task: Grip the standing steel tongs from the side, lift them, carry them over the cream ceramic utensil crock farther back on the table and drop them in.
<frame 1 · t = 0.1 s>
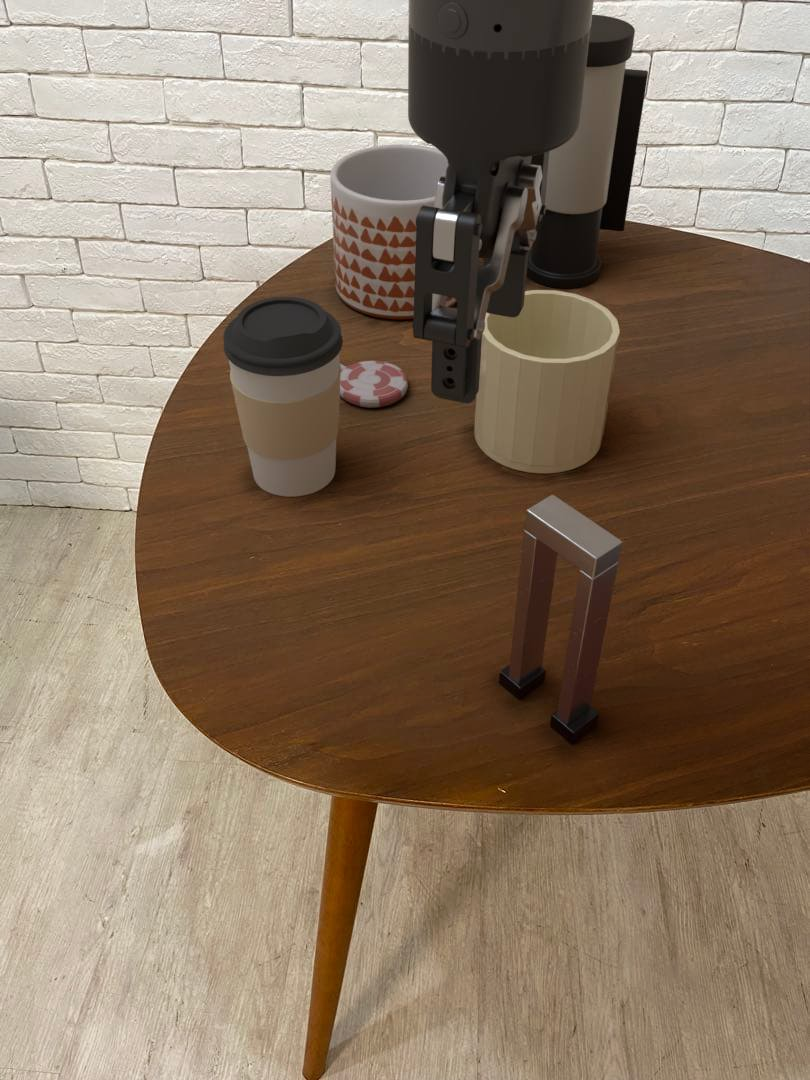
hand: (479, 352, 54), 26 cm above the table, tool pointing down, fingers open, 8 cm apart
crock: (537, 433, 92), on the table
planter: (400, 290, 111), on the table
coffee cup: (294, 472, 89), on the table
lollipop: (339, 373, 99), on the table
tongs: (547, 703, 70), on the table
light fixture: (562, 266, 115), on the table
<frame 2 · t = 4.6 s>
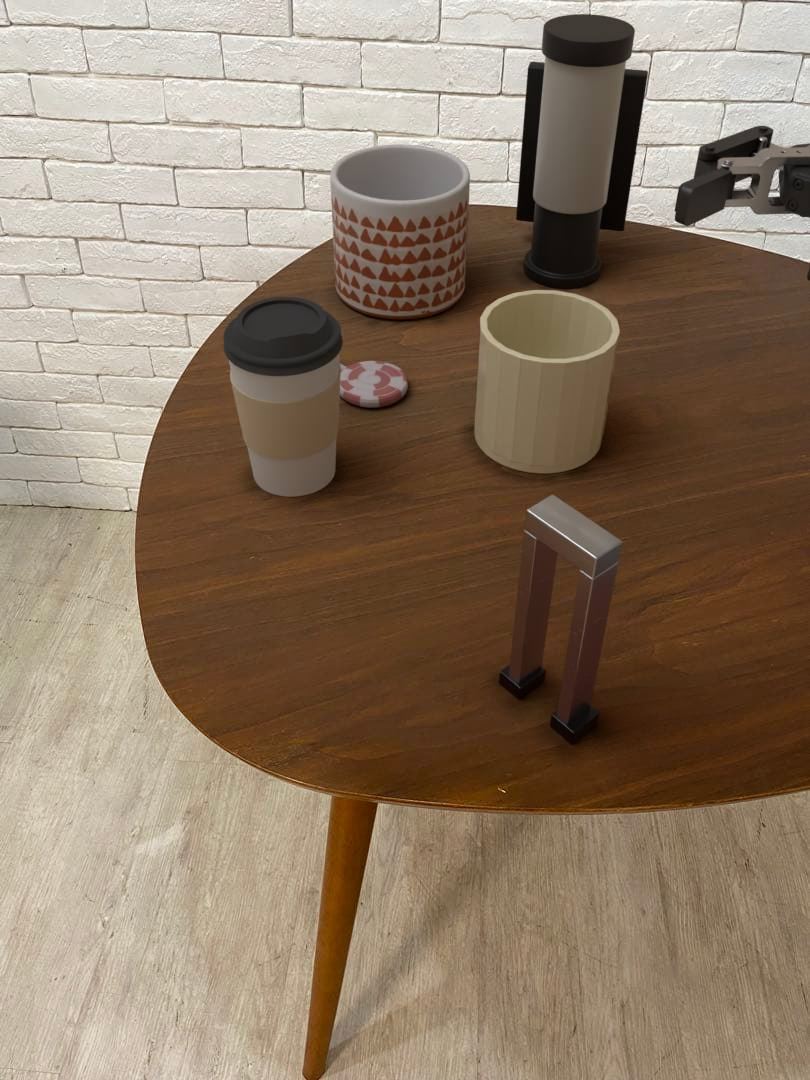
hand: (746, 235, 55), 30 cm above the table, tool horizontal, fingers open, 8 cm apart
nothing on the table moved.
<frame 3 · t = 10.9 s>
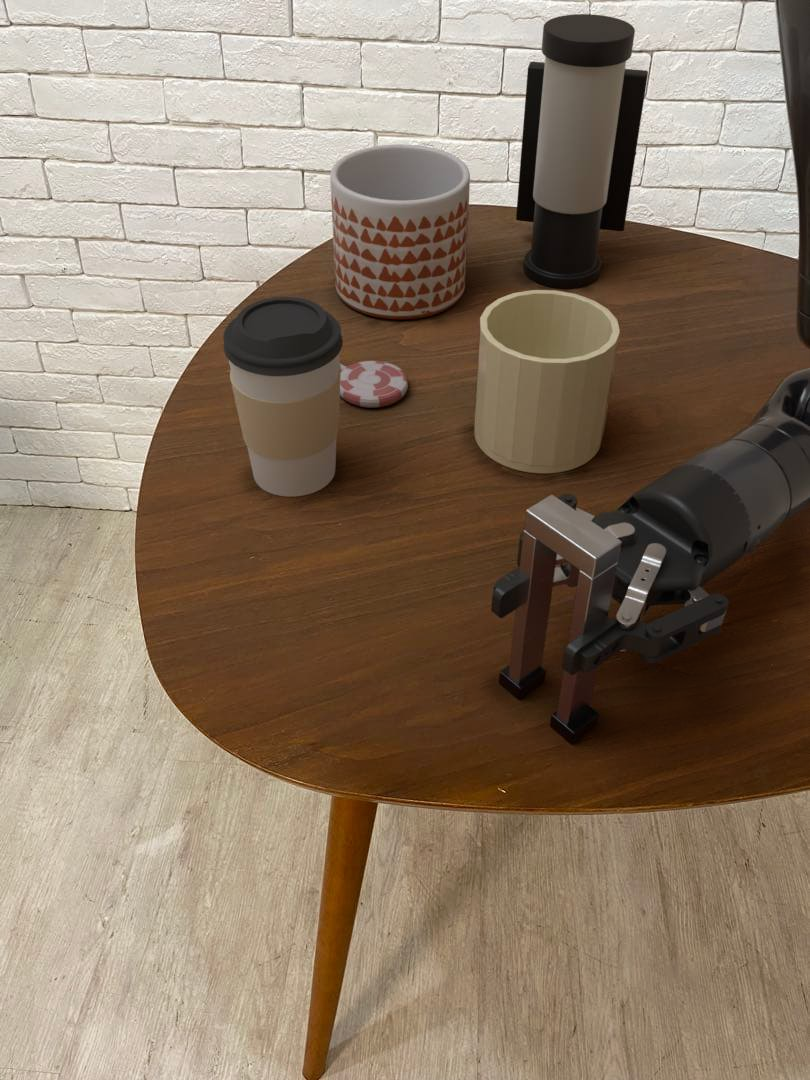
hand: (531, 632, 63), 9 cm above the table, tool horizontal, fingers closed on tongs, 5 cm apart
tongs: (547, 703, 70), on the table, touching gripper
everything else where it was.
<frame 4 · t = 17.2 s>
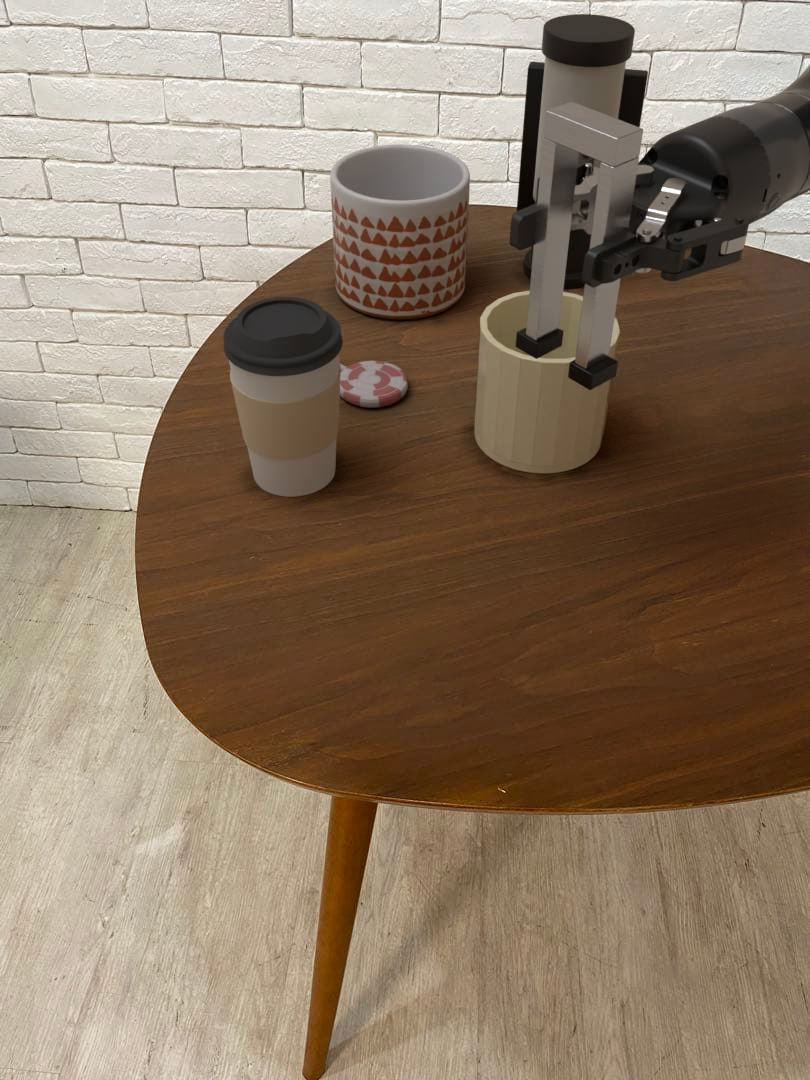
hand: (551, 251, 62), 26 cm above the table, tool horizontal, fingers closed on tongs, 5 cm apart
tongs: (564, 361, 70), point 17 cm above the table, touching gripper
everything else where it was.
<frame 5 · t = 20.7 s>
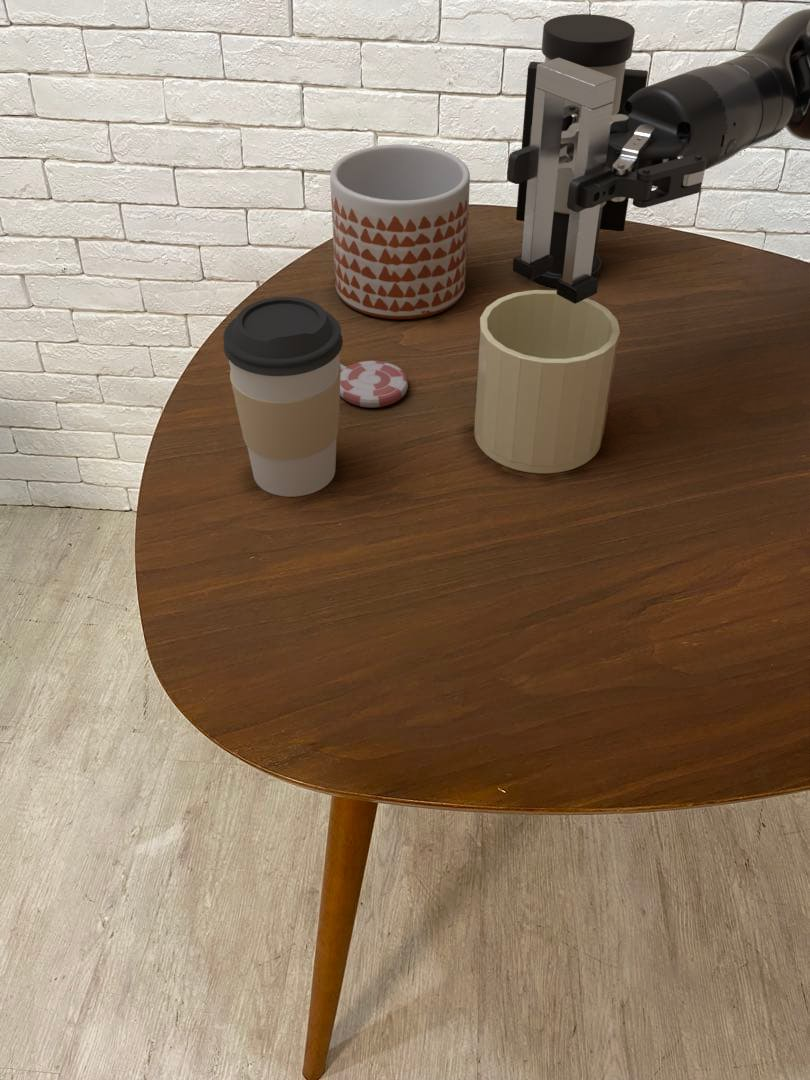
hand: (541, 183, 75), 24 cm above the table, tool horizontal, fingers closed on tongs, 5 cm apart
tongs: (554, 282, 82), point 15 cm above the table, touching gripper
everything else where it was.
when the fingers open (14 cm above the table, at t = 23.8 s): tongs drops 4 cm, resting on crock.
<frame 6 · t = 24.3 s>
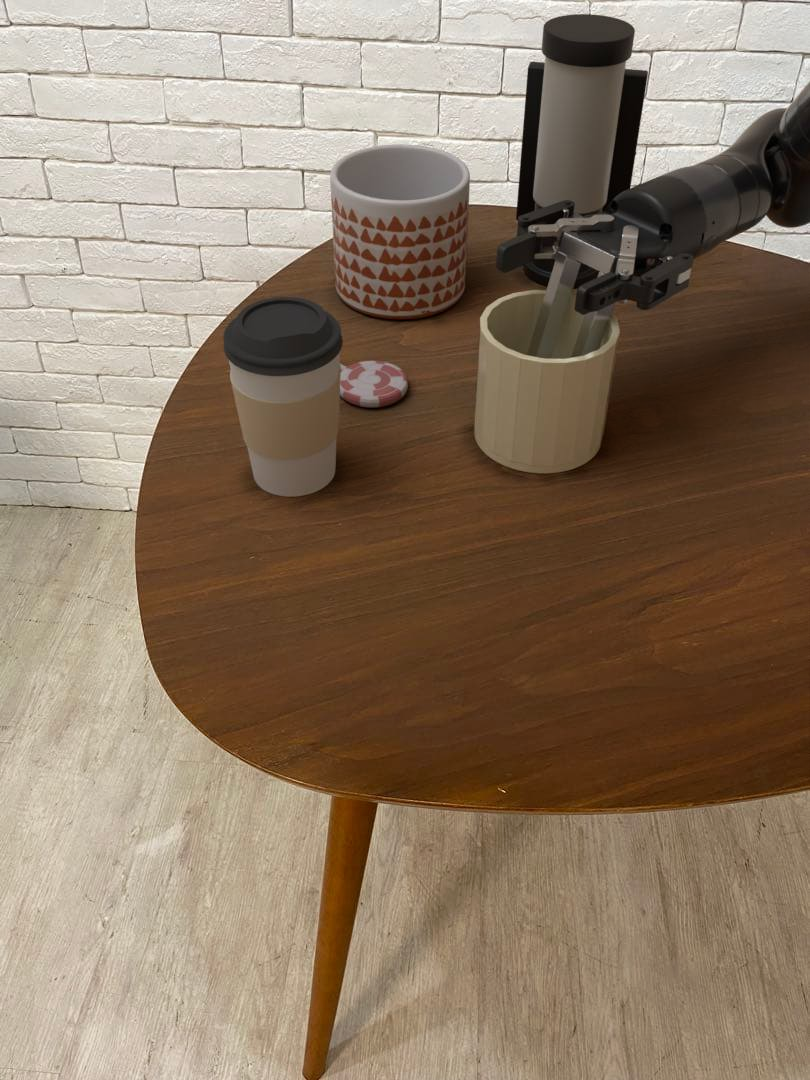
hand: (538, 280, 81), 16 cm above the table, tool horizontal, fingers open, 8 cm apart
tongs: (539, 422, 92), point 1 cm above the table, tilted 17°, touching crock
everything else where it was.
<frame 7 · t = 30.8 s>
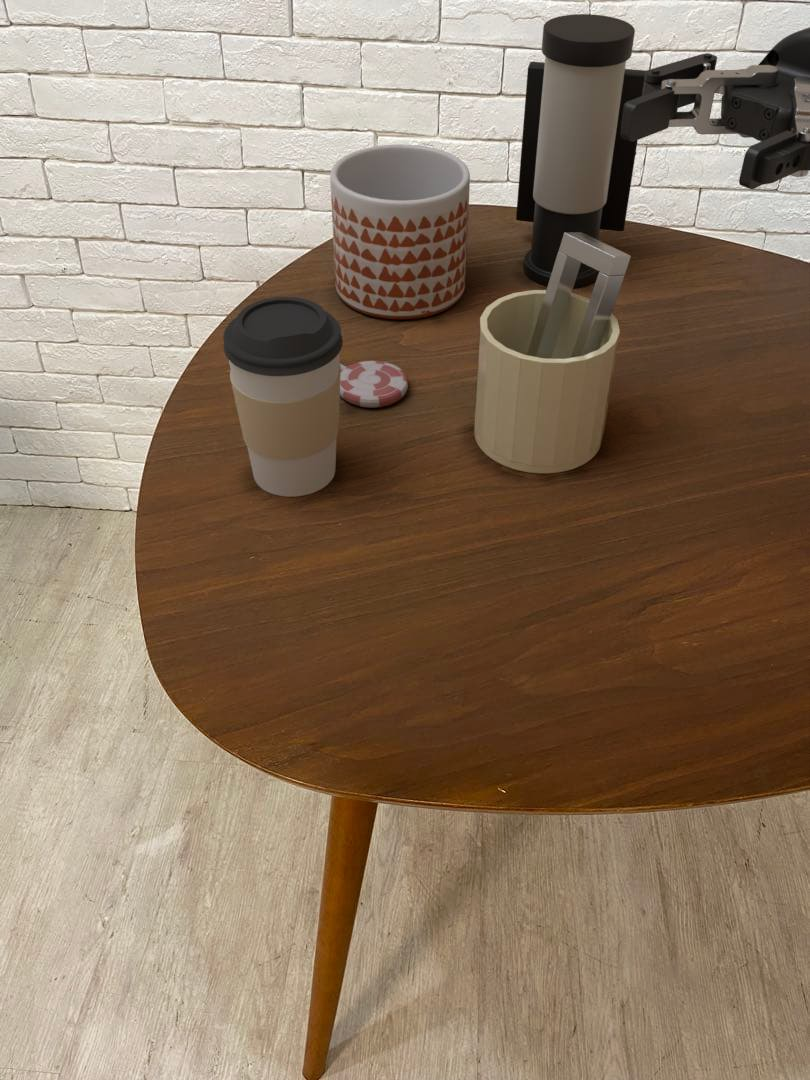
hand: (684, 145, 59), 32 cm above the table, tool horizontal, fingers open, 8 cm apart
nothing on the table moved.
at the end: tongs inside the target area in the crock (0.1 cm from its centre), point 1.2 cm above the crock's base; the gripper is holding nothing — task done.
